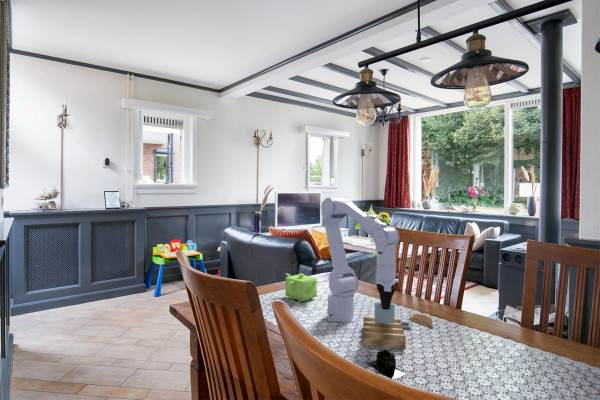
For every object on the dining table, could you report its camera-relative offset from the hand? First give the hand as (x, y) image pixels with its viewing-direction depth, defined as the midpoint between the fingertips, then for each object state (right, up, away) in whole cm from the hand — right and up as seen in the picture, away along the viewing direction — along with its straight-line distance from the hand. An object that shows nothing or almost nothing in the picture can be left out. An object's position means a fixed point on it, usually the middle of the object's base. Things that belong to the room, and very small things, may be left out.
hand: (385, 308), depth 114 cm
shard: (+18, -10, +13) cm, 24 cm away
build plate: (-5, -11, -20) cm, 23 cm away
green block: (-27, -8, +40) cm, 49 cm away
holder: (+7, -9, +9) cm, 14 cm away
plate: (0, -5, 0) cm, 5 cm away
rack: (-1, -9, -1) cm, 9 cm away
